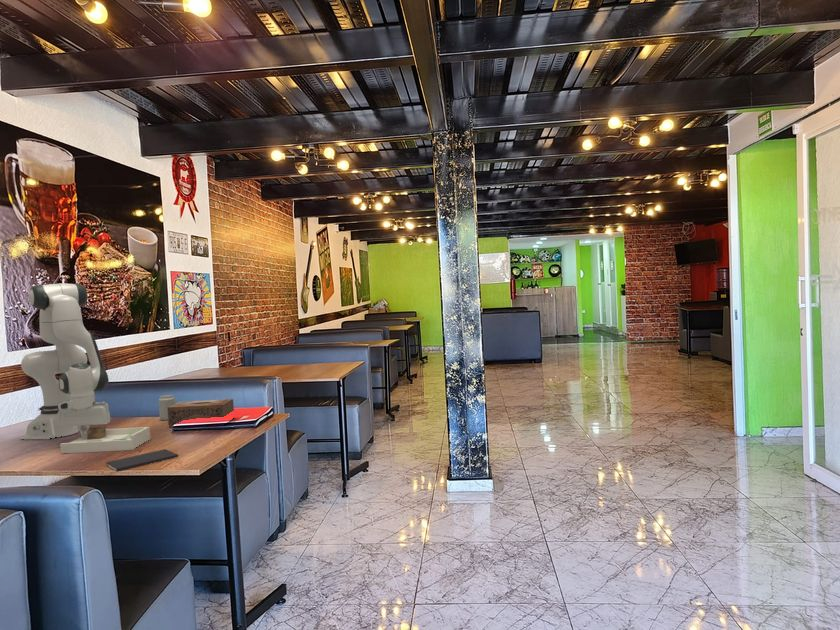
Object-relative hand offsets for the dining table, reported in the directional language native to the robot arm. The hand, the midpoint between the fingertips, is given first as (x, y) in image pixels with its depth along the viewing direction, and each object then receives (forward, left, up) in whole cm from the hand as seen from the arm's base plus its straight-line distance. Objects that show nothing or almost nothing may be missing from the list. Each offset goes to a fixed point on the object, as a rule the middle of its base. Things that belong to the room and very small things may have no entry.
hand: (85, 435), depth 237 cm
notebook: (+37, -29, -5) cm, 47 cm away
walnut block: (+4, 0, -1) cm, 5 cm away
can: (+15, +47, -4) cm, 49 cm away
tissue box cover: (+37, +33, -5) cm, 49 cm away
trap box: (+11, -4, -4) cm, 12 cm away
